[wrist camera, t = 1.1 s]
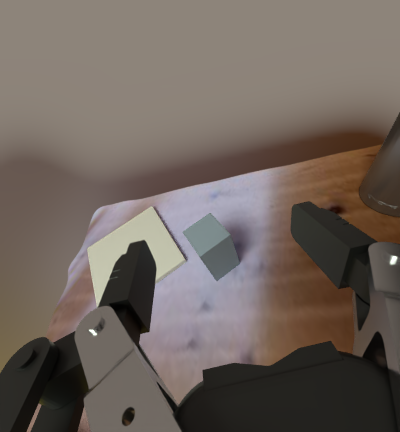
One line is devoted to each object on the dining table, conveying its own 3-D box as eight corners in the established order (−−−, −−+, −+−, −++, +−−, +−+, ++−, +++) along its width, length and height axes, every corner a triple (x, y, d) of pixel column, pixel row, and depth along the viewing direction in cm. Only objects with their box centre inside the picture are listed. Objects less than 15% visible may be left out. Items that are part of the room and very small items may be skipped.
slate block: (223, 244, 35) (210, 212, 28) (239, 263, 32) (230, 234, 25) (201, 259, 35) (182, 232, 27) (216, 281, 32) (199, 256, 24)
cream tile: (153, 208, 47) (152, 205, 46) (186, 261, 35) (184, 259, 35) (90, 250, 45) (87, 248, 44) (103, 321, 33) (99, 321, 32)
